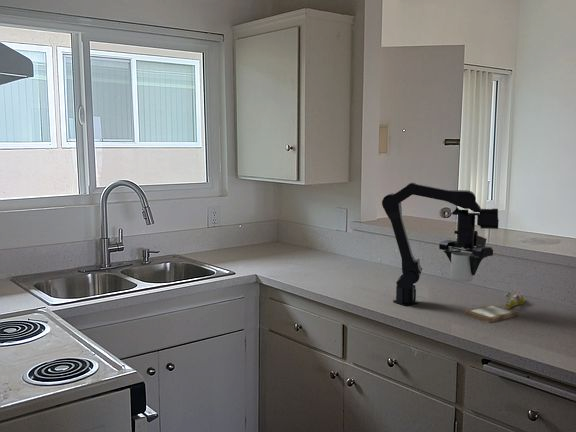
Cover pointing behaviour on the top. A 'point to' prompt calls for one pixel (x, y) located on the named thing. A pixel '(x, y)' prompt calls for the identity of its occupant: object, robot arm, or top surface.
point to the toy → (514, 299)
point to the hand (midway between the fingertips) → (464, 273)
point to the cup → (461, 267)
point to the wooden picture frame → (491, 313)
